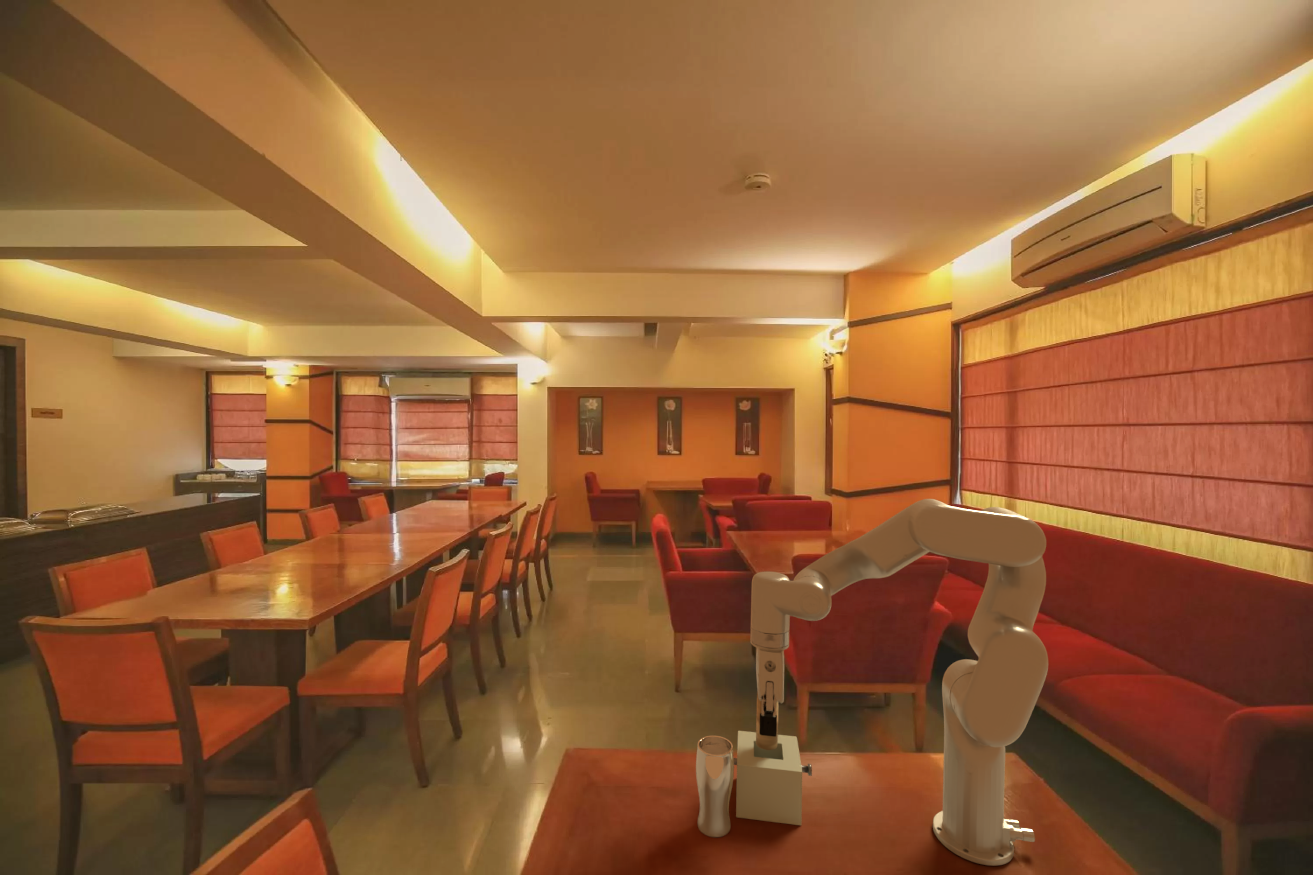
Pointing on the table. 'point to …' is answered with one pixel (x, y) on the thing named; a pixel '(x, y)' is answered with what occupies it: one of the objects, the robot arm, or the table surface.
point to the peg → (762, 740)
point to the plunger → (807, 769)
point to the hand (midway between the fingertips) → (767, 727)
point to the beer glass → (714, 784)
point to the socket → (769, 780)
